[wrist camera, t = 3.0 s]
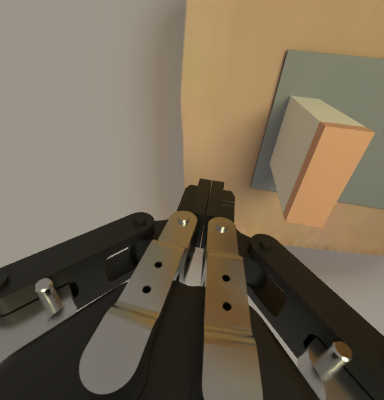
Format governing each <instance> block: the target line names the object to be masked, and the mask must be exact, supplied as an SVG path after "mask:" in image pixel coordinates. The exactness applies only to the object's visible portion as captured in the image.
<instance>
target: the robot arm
mask: <svg viewBox="0 0 384 400" xmlns="http://www.w3.org/2000/svg"><path fill="white" fill-rule="evenodd" d="M211 181H212V180H207V179H200V180H199V184H198V186H194V185H190V186H188V187H187V188H186V189H185V191H184V194H183V196H182V199H181V202H180V204H179V207H178V209H177V212H175V213H173V214H172V215H171V217H170V218H169V219H167V220H162V221H154V218H153V217H152V216H151V215H150V214H147V213H144V212H138V213H134V214H131V215H128V216H126V217H124V218H121V219H119V220H116V221H114V222H111V223H109V224H107V225H104V226H102V227H99V228H97V229H95V230H92V231H90V232H87V233H85V234H82V235H80V236H77V237H75V238H72V239H70V240H68V241H65V242H63V243H60V244H58V245H56V246H53V247H51V248H48V249H46V250H43V251H41V252H38V253H36V254H33V255H31V256H29V257H26V258H24V259H21V260H19V261H16V262H14V263H12V264H9V265H7V266H4V267H2V268H0V400H384V336H383V335H382V334H380V333H379V332H378V331H377V330H376V329H375V328H374V327H373V326H371V325H370V324H369V323H368V322H367V321H366V320H365V319H364V318H363V317H362V316H361V315H359V314H358V313H357V312H356V311H355V310H354V309H353V308H352V307H350V306H349V305H348V304H347V303H346V302H345V301H344V300H343V299H341V298H340V297H339V296H338V295H337V294H336V293H335V292H333V290H332V289H330V288H329V287H328V286H327V285H326V284H325V283H324V282H322V281H321V280H320V279H319V278H318V277H317V276H316V275H315V274H314V273H313V272H311V271H310V270H309V269H308V268H307V267H306V266H304V264H303V263H301V262H300V261H299V260H298V259H297V258H296V257H295V256H294V255H292V254H291V253H290V252H289V251H288V250H287V249H286V248H285V247H284V246H282V245H281V244H280V243H279V242H278V241H277V240H276V239H274V238H273V237H271V236H269V235H265V234H256V235H254V236H253V237H252V238H250V237H248V236H246V235H243V234H242V233H240V232H239V231H238V230H237V229H236V226H235V224H234V204H235V203H234V202H235V196H234V195H233V193H232V192H231V191H226V190H223V188H224V182H220V181H212V186H211ZM210 188H211V191H210ZM209 194H210V196H209ZM204 222H205V223H204ZM203 227H204V229H203ZM202 233H203V236H202ZM201 238H202V243H201ZM200 243H201V248H204V252H203V258H202V268H201V282H200V286H193V287H192V286H187V285H185V284H184V283H185V280H186V277H187V274H188V271H189V268H190V265H191V262H192V258H193V254H194V252H195V247H198V248H199V247H200ZM127 247H128V249H127V250H125V251H123V252H121V253H119V254H117V255H115V256H113V257H111V258H109V259H107V258H108V257H109V256H111V255H113V254H115V253H117V252H119V251H121V250H123V249H125V248H127ZM106 259H107V260H106ZM269 276H270V277H271V278H270V277H269ZM128 279H130V280H129V281H128V282H126V283H123V282H125V281H127V280H128ZM122 283H123V284H122ZM120 284H121V285H120ZM118 285H119V286H118ZM278 286H279V287H280V288H281V289H282V290H281V289H280V288H279V287H278ZM113 288H114V289H113ZM111 289H112V290H111ZM110 290H111V291H110ZM108 291H109V292H108ZM106 292H108V293H106ZM105 293H106V294H105ZM103 294H104V295H103ZM247 294H248V295H249V297H250V298H251V299H252V301H253V302H254V303H255V304H256V306H257V307H258V308H259V310H260V311H261V312H262V313H263V315H264V316H265V317H266V319H267V320H268V321H269V322H270V324H271V325H272V326H273V328H274V329H275V330H276V331H277V333H278V334H279V335H280V337H281V338H282V339H283V341H284V342H285V343H286V344H287V346H288V347H289V348H290V350H291V351H292V352H293V353H294V355H295V356H296V357H297V359H298V368H297V366H296V365H295V364H294V362H293V361H292V359H291V358H290V357H289V355H288V354H287V353H286V351H285V350H284V348H283V347H282V345H281V344H280V343H279V341H278V340H277V338H276V337H275V336H274V334H273V333H272V332H271V330H270V329H269V327H268V326H267V325H266V323H265V322H264V320H263V319H262V318H261V316H260V315H259V314H258V313H257V312H256V311H255V310H254V309H253V308H252V307H251V306H249V305H248V297H247ZM101 295H103V296H101ZM100 296H101V297H100ZM98 297H100V298H98ZM96 298H98V299H97V300H95V299H96ZM93 300H95V301H94V302H92V303H90V302H91V301H93ZM88 303H90V304H89V305H87V306H86V307H84V308H83V309H81V310H80V311H78V312H76V310H78V309H80V308H81V307H83V306H84V305H86V304H88Z"/></svg>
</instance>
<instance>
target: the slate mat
mask: <svg viewBox="0 0 384 400" xmlns="http://www.w3.org/2000/svg"><path fill="white" fill-rule="evenodd" d="M290 96H298V97H306V98H315V99H320V100H322V101H323V102H325V103H327V104H328V105H330V106H332V107H333V108H335V109H337V110H338V111H340V112H342V113H343V114H345V115H347V116H348V117H350V118H352V119H353V120H355V121H357V122H358V123H360V124H362V125H363V126H365V127H367V128H369V129H370V130H372V131H374V132H375V134H374V136H373V138H372V140H371V141H370V143H369V145H368V147H367V149H366V150H365V152H364V154H363V156H362V157H361V159H360V161H359V163H358V165H357V166H356V168H355V170H354V172H353V174H352V175H351V177H350V179H349V181H348V183H347V184H346V186H345V188H344V190H343V192H342V193H341V195H340V197H339V199H338V201H337V202H343V203H349V204H355V205H361V206H368V207H374V208H380V209H384V59H378V58H368V57H358V56H347V55H337V54H327V53H317V52H306V51H296V50H287V54H286V57H285V61H284V65H283V68H282V72H281V76H280V79H279V83H278V87H277V90H276V94H275V98H274V101H273V105H272V109H271V112H270V116H269V120H268V124H267V127H266V131H265V135H264V138H263V142H262V146H261V149H260V153H259V157H258V160H257V164H256V168H255V171H254V175H253V179H252V182H251V188H256V189H262V190H268V191H274V192H277V189H276V185H275V181H274V178H273V174H272V170H271V166H270V160H271V157H272V154H273V151H274V147H275V144H276V141H277V138H278V134H279V131H280V128H281V125H282V121H283V118H284V115H285V112H286V108H287V105H288V102H289V99H290Z"/></svg>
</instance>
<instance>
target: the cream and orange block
mask: <svg viewBox="0 0 384 400" xmlns="http://www.w3.org/2000/svg"><path fill="white" fill-rule="evenodd" d="M374 134H375V132H374V131H372V130H370V129H369V128H367V127H365V126H363V125H362V124H360V123H358V122H357V121H355V120H353V119H352V118H350V117H348V116H347V115H345V114H343V113H342V112H340V111H338V110H337V109H335V108H333V107H332V106H330V105H328V104H327V103H325V102H323V101H322V100H320V99H315V98H306V97H298V96H290V99H289V102H288V105H287V108H286V112H285V115H284V118H283V121H282V125H281V128H280V131H279V134H278V138H277V141H276V144H275V147H274V151H273V154H272V157H271V160H270V166H271V170H272V174H273V178H274V181H275V185H276V189H277V193H278V196H279V200H280V204H281V208H282V211H283V215H284V219H285V222H290V223H296V224H301V225H307V226H313V227H319V228H323V226H324V224H325V222H326V220H327V219H328V217H329V215H330V213H331V211H332V210H333V208H334V206H335V204H336V202H337V201H338V199H339V197H340V195H341V193H342V192H343V190H344V188H345V186H346V184H347V183H348V181H349V179H350V177H351V175H352V174H353V172H354V170H355V168H356V166H357V165H358V163H359V161H360V159H361V157H362V156H363V154H364V152H365V150H366V149H367V147H368V145H369V143H370V141H371V140H372V138H373V136H374Z"/></svg>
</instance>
